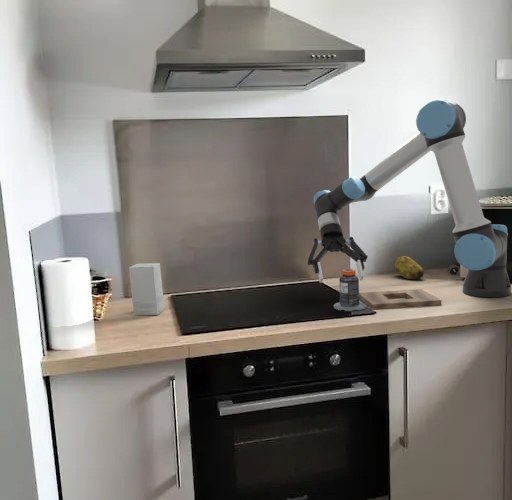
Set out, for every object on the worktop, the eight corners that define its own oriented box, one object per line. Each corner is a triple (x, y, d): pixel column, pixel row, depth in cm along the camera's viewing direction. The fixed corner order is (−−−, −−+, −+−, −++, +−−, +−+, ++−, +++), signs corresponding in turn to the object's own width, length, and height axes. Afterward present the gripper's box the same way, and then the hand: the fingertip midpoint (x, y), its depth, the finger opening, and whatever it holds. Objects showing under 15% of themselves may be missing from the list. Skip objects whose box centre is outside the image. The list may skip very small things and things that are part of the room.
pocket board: (421, 293, 191) (421, 289, 191) (441, 304, 176) (441, 300, 175) (357, 297, 189) (357, 292, 189) (372, 309, 173) (372, 304, 173)
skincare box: (164, 310, 181) (161, 262, 179) (157, 316, 175) (153, 266, 172) (140, 310, 183) (137, 262, 181) (131, 315, 176) (128, 266, 174)
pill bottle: (358, 302, 179) (358, 267, 178) (359, 307, 174) (359, 271, 172) (339, 302, 180) (338, 268, 178) (340, 307, 174) (339, 271, 173)
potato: (405, 281, 210) (405, 260, 209) (391, 275, 223) (391, 255, 222) (426, 280, 212) (426, 259, 210) (411, 273, 224) (411, 254, 223)
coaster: (360, 302, 182) (360, 300, 182) (370, 310, 172) (370, 308, 172) (330, 304, 181) (330, 302, 181) (338, 312, 171) (338, 310, 171)
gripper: (362, 233, 202) (376, 283, 189) (293, 237, 199) (303, 287, 187) (367, 220, 196) (381, 270, 183) (296, 223, 193) (305, 275, 181)
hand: (342, 279), depth 185 cm, fingers open, 13 cm apart
